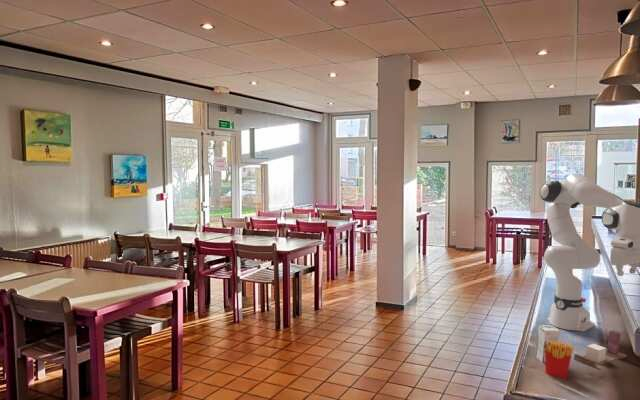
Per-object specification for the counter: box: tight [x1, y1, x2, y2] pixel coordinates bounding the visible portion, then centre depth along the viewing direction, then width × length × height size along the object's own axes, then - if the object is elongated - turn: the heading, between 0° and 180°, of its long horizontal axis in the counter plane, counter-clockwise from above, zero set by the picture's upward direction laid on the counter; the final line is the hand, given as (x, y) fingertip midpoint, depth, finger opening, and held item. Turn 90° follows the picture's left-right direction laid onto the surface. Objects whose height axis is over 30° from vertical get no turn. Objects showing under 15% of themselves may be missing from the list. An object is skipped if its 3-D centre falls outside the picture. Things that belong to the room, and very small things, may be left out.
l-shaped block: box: [573, 329, 627, 368], centre depth 204 cm, size 24×8×10 cm, turn 122°
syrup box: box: [535, 325, 560, 364], centre depth 199 cm, size 6×6×14 cm
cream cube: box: [585, 343, 607, 362], centre depth 202 cm, size 5×5×5 cm
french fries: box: [545, 341, 574, 379], centre depth 187 cm, size 9×4×13 cm, turn 59°
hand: (626, 274), depth 208 cm, fingers open, 8 cm apart
